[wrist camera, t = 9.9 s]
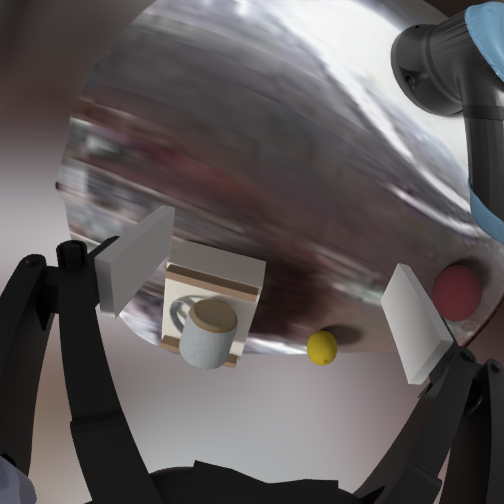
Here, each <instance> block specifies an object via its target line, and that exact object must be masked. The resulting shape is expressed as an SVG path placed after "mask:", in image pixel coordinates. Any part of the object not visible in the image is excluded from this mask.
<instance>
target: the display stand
mask: <svg viewBox="0 0 504 504" xmlns="http://www.w3.org/2000/svg"><path fill="white" fill-rule="evenodd" d="M265 267H266V261H262V260H258V259H255V258H251V257H247V256H243V255H239V254H236V253H232V252H228V251H224V250H221V249H217V248H213V247H209V246H206V245H202V244H198V243H194V242H191V241H187V240H184V241H183V243H182V244H181V245H180V246H179V248H178V249H177V250H176V251H175V253H174V254H173V255H172V257H171V258H170V259H169V260H168V262H167V269H166V271H165V278H166V282H165V295H164V309H163V326H162V341H161V347H162V348H165V349H168V350H171V351H175V352H178V353H180V349H179V343H180V339H181V335H182V334H181V333H180V332H179V331H178V330H177V329H176V328H175V326H174V325H173V323H172V321H171V319H170V315H169V308H170V305H171V303H172V302H173V301H175V300H176V299H178V298H180V297H186V298H189V299H192V300H193V301H194V302H197V301H200V300H205V299H213V300H217V301H220V302H223V303H225V304H227V305H228V306H229V307H231V308H232V309H233V310H234V312H235V313H236V315H237V318H238V325H237V331H236V334H235V337H234V340H233V343H232V346H231V349H230V352H229V355H228V358H227V361H226V362H225V363H224V364H223V366H227V367H231V368H235V366H236V362H237V361H239V360H240V357H241V354H242V351H243V348H244V345H245V341H246V338H247V335H248V332H249V329H250V326H251V323H252V320H253V316H254V313H255V310H256V307H257V304H258V300H259V297H260V294H261V291H262V288H263V281H264V274H265ZM189 310H190V307H188V306H187V305H186V304H183V303H181V302H180V304H179V305H178V308H177V315H178V317H179V319H180V321H181V322H182V324H183V325H185V320H186V317H187V314H188V311H189Z"/></svg>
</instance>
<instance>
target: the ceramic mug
mask: <svg viewBox="0 0 504 504" xmlns="http://www.w3.org/2000/svg"><path fill="white" fill-rule="evenodd" d="M180 302H181V303H183V304H186V305H187V306H188V307H190V310H189V311H188V314H187V317H186V320H185V325H183V324H182V322H181V321H180V319H179V317H178V315H177V308H178V305H179V304H180ZM169 315H170V319H171V321H172V323H173V325H174V326H175V328H176V329H177V330H178V331H179V332H180V333H181V334H182V335H181V339H180V343H179V349H180V353H181V355H182V356H183V358H184V359H185V360H186V361H187V362H189V363H190V364H191V365H193V366H196V367H198V368H201V369H215V368H218V367H220V366H222V365H223V364H224V363H225V362H226V361H227V358H228V355H229V352H230V349H231V346H232V343H233V340H234V337H235V334H236V331H237V325H238V318H237V315H236V313H235V312H234V310H233V309H232V308H231V307H229V306H228V305H227V304H225V303H223V302H220V301H217V300H213V299H205V300H200V301H197V302H194V301H193V300H192V299H189V298H186V297H180V298H178V299H176V300H175V301H173V302H172V303H171V305H170V308H169Z"/></svg>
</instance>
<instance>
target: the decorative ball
mask: <svg viewBox="0 0 504 504" xmlns="http://www.w3.org/2000/svg"><path fill="white" fill-rule="evenodd" d="M432 297H433V302H434V306H435V308H436V310H437V311H438V312H439V314H440V315H441V316H443V317H444V318H446V319H448V320H451V321H461V320H464V319H466V318H468V317H470V316H471V315H472V314H473V313H474V312H475V311H476V309H477V308H478V306H479V304H480V301H481V297H482V285H481V282H480V279H479V277H478V275H477V274H476V273H475V271H473V270H472V269H471V268H470V267H468V266H465V265H459V264H458V265H452V266H449V267H447V268H446V269H444V270H443V271H442V272H441V273H440V274H439V275H438V277H437V279H436V281H435V283H434V286H433V292H432Z"/></svg>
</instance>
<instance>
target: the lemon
mask: <svg viewBox="0 0 504 504" xmlns="http://www.w3.org/2000/svg"><path fill="white" fill-rule="evenodd" d="M307 352H308V355H309V358H310V359H311V361H312V362H314V363H315V364H317V365H327V364H329V363H331V362H332V361H333V360H334V358H335V357H336V353H337V342H336V340H335V338H334V336H333V335H332V334H331V333H329V332H327V331H317V332H315V333H314V334H312V335H311V337H310V338H309V340H308V343H307Z"/></svg>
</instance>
